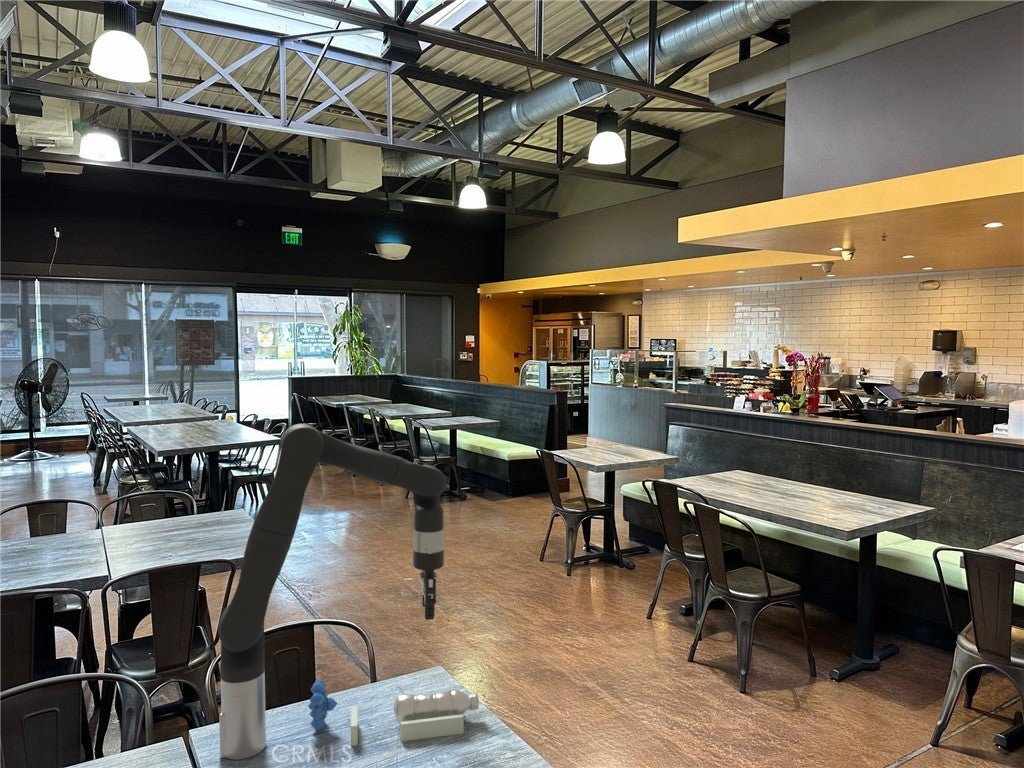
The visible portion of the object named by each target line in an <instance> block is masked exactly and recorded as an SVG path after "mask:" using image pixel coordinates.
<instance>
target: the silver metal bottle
mask: <svg viewBox="0 0 1024 768" xmlns="http://www.w3.org/2000/svg"><path fill="white" fill-rule="evenodd" d="M479 706H480V704H479V695H478V693H469V694H466V693H465V692H464V691H461V690H460V689H451V690H447V691H442V692H437V693H436V692H435V693H433V694H432V693H431V694H429V693H428V694H411V693H404V694H400V695H397V697H396V698H395V702H394V706H393V707H394V708H393V709H394V716H395V721H396V722H397V723H398V724H399V723H400V724H401V722H403V721H411V720H419V719H427V718H436V717H444V716H452V715H460V714H463V715H465V714H466V713H467V711H469V710H470V711H471V712H472V711H476V710H479Z"/></svg>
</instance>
